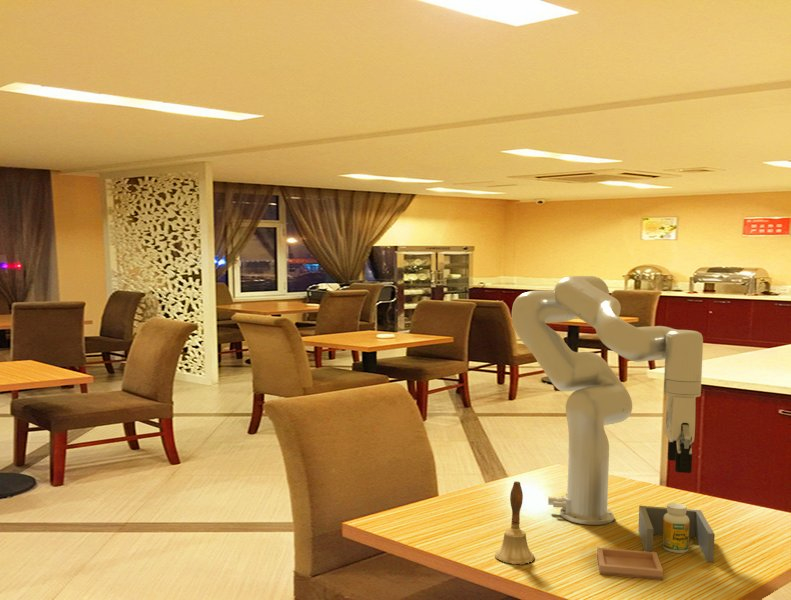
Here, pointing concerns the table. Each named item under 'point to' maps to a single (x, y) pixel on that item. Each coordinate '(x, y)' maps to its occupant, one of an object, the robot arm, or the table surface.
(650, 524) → the bay
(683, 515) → the supplement bottle
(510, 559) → the hand bell
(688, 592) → the table surface
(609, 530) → the table surface
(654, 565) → the tray
